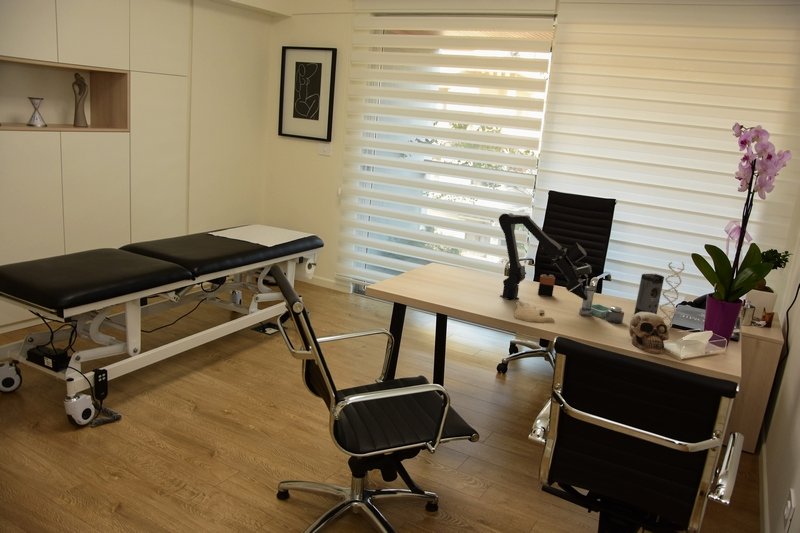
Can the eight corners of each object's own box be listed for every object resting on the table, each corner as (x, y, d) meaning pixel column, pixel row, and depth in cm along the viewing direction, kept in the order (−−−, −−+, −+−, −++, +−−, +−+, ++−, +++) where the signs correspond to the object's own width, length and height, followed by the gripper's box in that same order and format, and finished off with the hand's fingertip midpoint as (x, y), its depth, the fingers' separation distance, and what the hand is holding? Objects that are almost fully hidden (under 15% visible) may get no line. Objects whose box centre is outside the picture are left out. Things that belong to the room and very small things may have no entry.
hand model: (504, 310, 253) (521, 295, 270) (503, 320, 255) (519, 305, 271) (549, 323, 245) (563, 307, 261) (547, 333, 247) (561, 317, 263)
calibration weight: (615, 324, 258) (617, 310, 257) (601, 319, 264) (604, 306, 262) (625, 323, 262) (628, 309, 261) (612, 318, 268) (614, 304, 266)
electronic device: (642, 321, 267) (651, 277, 263) (631, 317, 272) (640, 273, 268) (657, 320, 272) (666, 276, 267) (646, 316, 277) (655, 273, 272)
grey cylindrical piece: (585, 317, 265) (590, 289, 262) (576, 313, 269) (581, 286, 266) (593, 316, 267) (598, 288, 265) (584, 312, 272) (589, 285, 269)
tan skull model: (655, 355, 224) (660, 319, 223) (614, 343, 238) (618, 309, 236) (678, 351, 233) (683, 316, 232) (638, 340, 247) (641, 307, 246)
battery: (552, 297, 293) (555, 276, 291) (537, 294, 294) (540, 274, 292) (552, 295, 297) (555, 275, 295) (538, 292, 298) (541, 272, 296)
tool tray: (600, 317, 266) (601, 311, 266) (582, 310, 274) (583, 305, 274) (615, 315, 272) (616, 310, 271) (597, 309, 280) (598, 303, 279)
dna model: (662, 335, 249) (677, 263, 243) (650, 330, 255) (665, 260, 248) (674, 335, 252) (689, 264, 245) (662, 329, 258) (677, 260, 251)
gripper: (578, 261, 257) (600, 291, 254) (586, 255, 273) (607, 283, 271) (556, 275, 262) (578, 306, 260) (566, 269, 278) (586, 297, 276)
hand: (588, 297), depth 266 cm, fingers open, 9 cm apart
